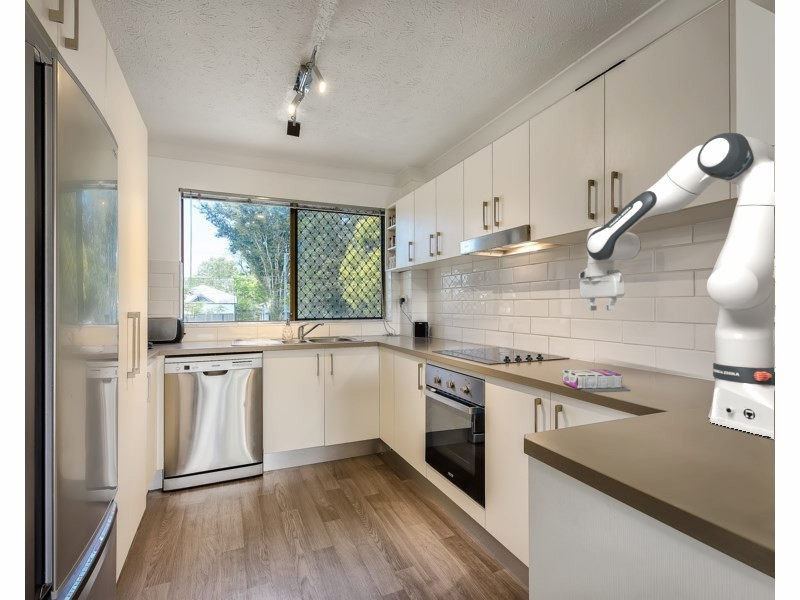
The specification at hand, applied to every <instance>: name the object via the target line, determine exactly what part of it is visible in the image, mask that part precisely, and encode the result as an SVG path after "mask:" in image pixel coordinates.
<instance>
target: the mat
mask: <svg viewBox="0 0 800 600" xmlns="http://www.w3.org/2000/svg"><path fill="white" fill-rule="evenodd" d="M565 385H566V386H569V387H571V388H575V387H573V386H571V385H568V384H566V383H565ZM575 389H577V390H581V391H584V392H587V393H609V392H611V393H613V392H614V393H615V392H617V393H618V392H631V389H629V388H626V387H622V388H575Z"/></svg>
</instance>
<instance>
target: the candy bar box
mask: <svg viewBox="0 0 800 600" xmlns="http://www.w3.org/2000/svg"><path fill="white" fill-rule="evenodd" d="M562 383H564V384H565V385H566V384H568V385H571V386H573V387H572V388H574V387H575V389H577V388H623V375H622V374H620V373H618V372H614V371H610V370H608V369H562ZM568 385H567V386H568ZM571 386H570V387H571Z"/></svg>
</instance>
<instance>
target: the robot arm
mask: <svg viewBox="0 0 800 600" xmlns="http://www.w3.org/2000/svg"><path fill="white" fill-rule="evenodd" d="M774 146H775V145H774V144H770V143H767V142H766V141H763V140H762V139H760V138H758V137H753V136H748V135H743V134H741V133H738V132H724V133H719V134H716V135H714V136H712V137H711V138H710V139H708V140H707V141H706V142H704V144H700V145H697V146H695V147H693V148H692V149H691V150H690V151H688V152H687V153H686V154H685V155H683V157H681V158H680V159H679V160H677V161H676V163H674V164H673V166H671V167H670V168H669V170H668V171H667V172H666V173H665V174H664V175H663V176H662V177H661V178H659V179H658V180H657V181H656V182H655V183H654V184H652V186H650V187H649V188H648V189H646V190H645V191H643V192H642V193H640V194H638V195H637V196H636V197H635V198H633V199H632V200H631V201H630V202H629V203H628V204H627V205H625V206H624V207H623V208H622V209H621V210H620V211H619V212H618V213H617V214H616V215H614V216H613V217H612V218H611V219H610V220H609V221H608V222H607V223H605V224H604V225H601V226H597V227H593V228H591V229H590V230H589V231H588V233H587V235H586V236H587V237H586V245H585V247H586V256H587V262H586V268H585V269H584V270H582V271H581V272H579V273H578V279H580V280H579V296H580V298H581V299H586V300H587V303H588V306H589V310H590V311H591V312H592V311H597V309H598V307H597V305H596V304H595V300H596V299H602V298H608V301H609V302H608V304H606V310H607V311H615V304H616V303H617V298H620V297H624V296H625V293H626V288H625V287H626V286H625V281H624V280H625V279H624V278H623V273H622V272H621V271H620V270H619V269H615V261H628V260H632V259H634V258H636V257H637V256H638V254H639V253H640V252H641V248H642V242H641V238H640V237H639V235H638V234H637V233H634V232H630V230H632V228H634V227H635V226H636V225H637V224H638V223H640V222H641V221H643V220H644V219H647V218H649V217H653V216H657V215H662V214H668V213H674V212H678V211H680V210H682V209H684V208H686V207H687V206H689V205H690V204H692V203H693V202H695V201H696V199H698V198H699V196H700V195H701V194H702V193H703V192H704V191H705V190H706V189H708V188H709V186H711V185H712V184H713V183H714V182H716V181H719V180H722V181H724V182H726V183H729V184H733V185H737V186H738V187H739V188H738V189H739V192H738V193H739V194H738V198H737V202H736V204H735V208H734V212H733V215H732V218H731V220H730V225H729V229H728V233H727V236H726V238H725V241H724V244H723V246H722V248H721V250H720V252H719V255H718V257H717V259H716V262H715V264H714V266H713V269H712V271H711V274H710V275H709V277H708V279H707V281H706V282H707V283H706V290H707V294H708V295H709V297H710V299H711V301H713V302H714V303H716V304H717V305H718V314H717V321H716V327H715V330H714V362H713V363H712V376H713V378H714V386H713V393H712V402H711V404H710V405H711V406H710V410H709V413H708V415H707V417H709V418H710V419H709V418H708V419H709V421H710V422H711V423H710V422H709V423H710V424H712V423H715V424H714V425H716V424H718V425H717V426H720V425H722V426H721V427H723V426H726V427H725V428H727V427H729V428H728V429H731V428H734V429H733V430H735V429H738V430H737V431H739V430H742V431H741V432H743V431H746V432H745V433H747V432H750V433H749V434H751V433H753V434H752V435H755V434H759V435H762V436H761V437H763V436H769V437H771V438H770V439H772V440H775V439H774V388H775V372H774V367H775V361H774V360H775V358H774V357H775V356H774V355H775V352H774V328H775V319H774V284H775V283H776V281H775V282H774V280H775V279H774V277H773V274H774V272H775V269H774V256H775V253H774V207H775V192H774ZM759 435H758V436H759Z"/></svg>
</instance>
